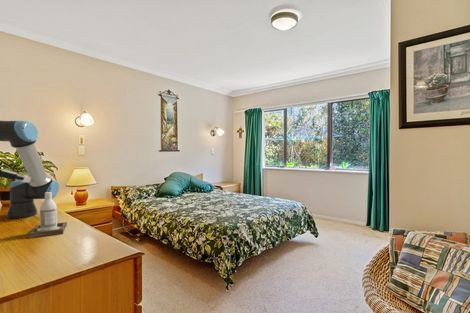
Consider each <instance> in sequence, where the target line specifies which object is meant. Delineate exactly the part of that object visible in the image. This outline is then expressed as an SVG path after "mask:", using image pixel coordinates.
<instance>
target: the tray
mask: <svg viewBox="0 0 470 313" xmlns="http://www.w3.org/2000/svg"><path fill="white" fill-rule="evenodd" d="M67 227H68V222H66V221H65V222H57V229H56V230H48V231H41V224H39V225H35V226H34V227H33V228H32V229H31V230H30V231H29V232H28V239H34V238H43V237H50V236H57V235H63V234H65V232H66V229H67Z"/></svg>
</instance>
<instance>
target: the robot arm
mask: <svg viewBox="0 0 470 313" xmlns="http://www.w3.org/2000/svg"><path fill="white" fill-rule="evenodd" d="M38 137H39V131H38V129H37V127H36V125H35V124H34V123H32V122H30V121H27V120H0V142H9V143H10V146H11V147H12V148H14V149H16V151H17V153H18V155H19V157H20V160H21V162H22V165H23V167H24V168H25V171H26V172H27V175H28V176H26V175H22V174H18V172H16V171H12V170H7V169H5V168H4V169H3V168H2V167H0V178H4V179H8V180H11V182H10V183H9V207H8V210H7V213H6V218H7V219H20V218H28V217H32V216H35V215H37V214H38V209H37V207H36V205H35V201H34V200H45V193H46V192H52V199H54V198H55V197H56V196H57V195H58V193H59V190H60V184H59V182H58V181H56V180H53V178H52V176H50V175H48V173H47V172H46V169H45V166H44V165H43V163H42V160H41V157H40V154H39V152H38V150H37V147H36V142H37V139H38Z"/></svg>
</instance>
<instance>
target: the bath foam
mask: <svg viewBox="0 0 470 313" xmlns="http://www.w3.org/2000/svg"><path fill="white" fill-rule="evenodd" d="M57 206H58V205H57V203H56V202H55V201H54V199H53V198H52V192H46V193H45V199H43V202H42V203H41V205H40V209H39V212H40V213H39V215H40V225H41V231H48V230H56V229H57V223H58V207H57Z"/></svg>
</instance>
